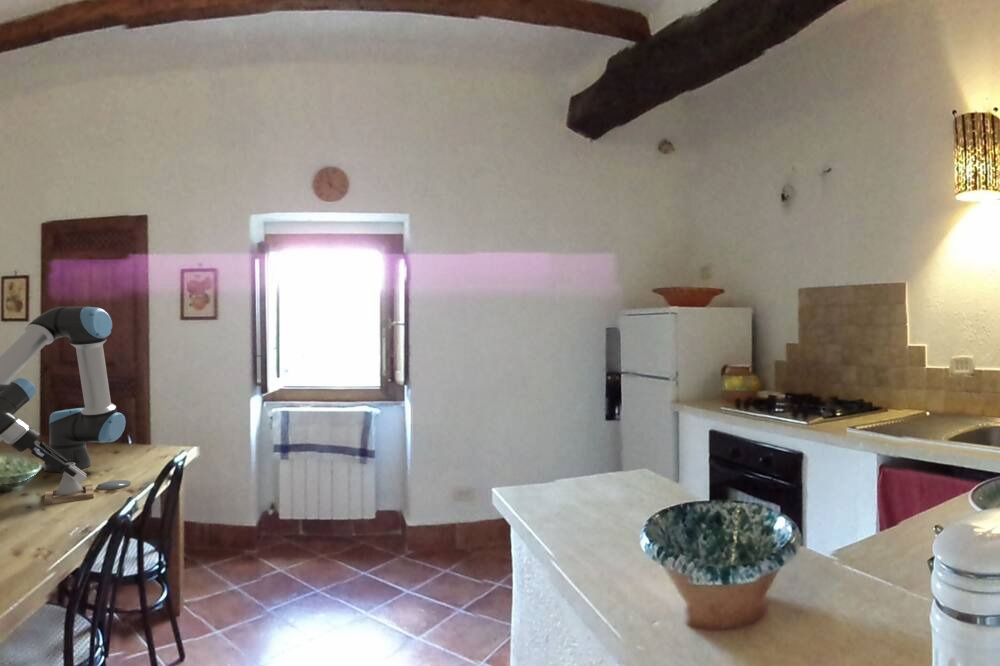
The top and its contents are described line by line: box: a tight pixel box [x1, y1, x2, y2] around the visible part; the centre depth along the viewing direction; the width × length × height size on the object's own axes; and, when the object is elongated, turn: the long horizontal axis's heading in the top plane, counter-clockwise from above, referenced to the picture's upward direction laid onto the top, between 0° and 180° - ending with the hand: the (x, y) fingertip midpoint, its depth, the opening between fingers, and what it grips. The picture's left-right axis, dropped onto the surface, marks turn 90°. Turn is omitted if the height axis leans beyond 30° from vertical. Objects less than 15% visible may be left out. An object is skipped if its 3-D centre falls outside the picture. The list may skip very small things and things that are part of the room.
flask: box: [56, 463, 84, 496], centre depth 199 cm, size 7×7×10 cm
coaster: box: [96, 479, 132, 491], centre depth 212 cm, size 10×10×1 cm
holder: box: [44, 484, 95, 506], centre depth 199 cm, size 13×13×2 cm
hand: (83, 478), depth 201 cm, fingers closed on flask, 3 cm apart
